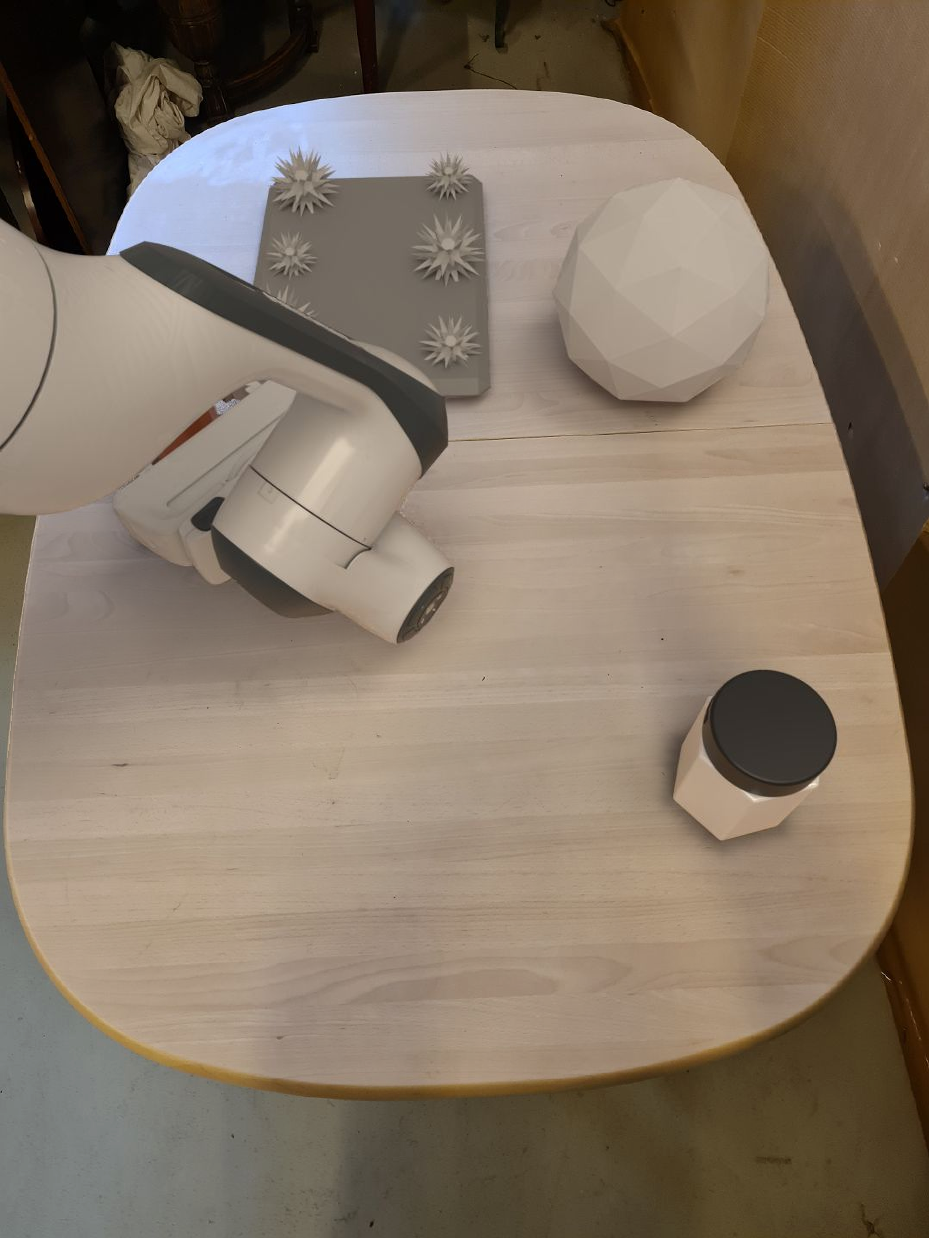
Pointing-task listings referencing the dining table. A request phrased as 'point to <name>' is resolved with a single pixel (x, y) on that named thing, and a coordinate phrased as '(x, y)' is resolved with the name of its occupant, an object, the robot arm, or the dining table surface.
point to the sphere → (663, 291)
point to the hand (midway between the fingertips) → (174, 412)
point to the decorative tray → (385, 263)
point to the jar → (754, 753)
